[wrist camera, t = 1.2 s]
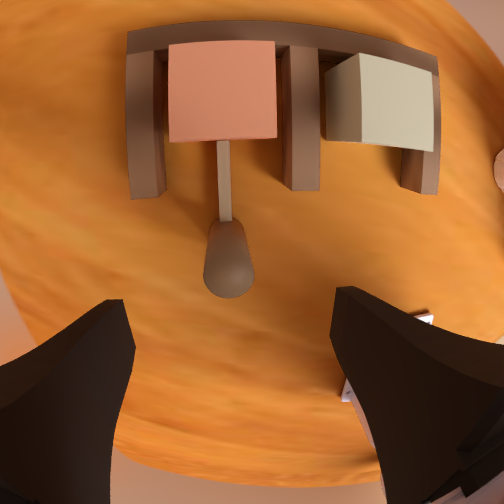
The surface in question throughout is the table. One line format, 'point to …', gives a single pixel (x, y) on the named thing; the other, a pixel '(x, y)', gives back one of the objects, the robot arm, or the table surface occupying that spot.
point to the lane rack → (293, 96)
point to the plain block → (379, 103)
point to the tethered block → (223, 133)
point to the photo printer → (499, 170)
